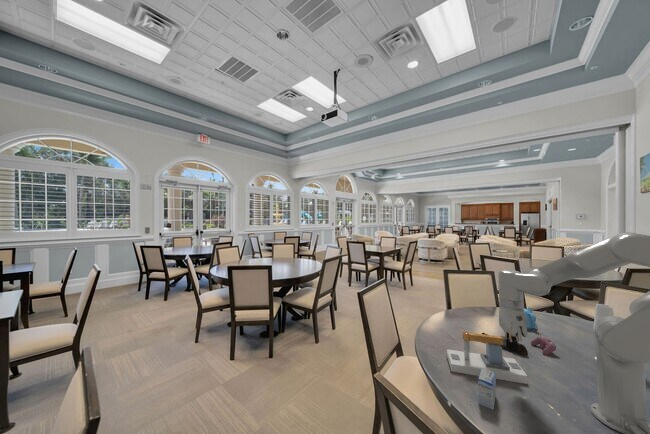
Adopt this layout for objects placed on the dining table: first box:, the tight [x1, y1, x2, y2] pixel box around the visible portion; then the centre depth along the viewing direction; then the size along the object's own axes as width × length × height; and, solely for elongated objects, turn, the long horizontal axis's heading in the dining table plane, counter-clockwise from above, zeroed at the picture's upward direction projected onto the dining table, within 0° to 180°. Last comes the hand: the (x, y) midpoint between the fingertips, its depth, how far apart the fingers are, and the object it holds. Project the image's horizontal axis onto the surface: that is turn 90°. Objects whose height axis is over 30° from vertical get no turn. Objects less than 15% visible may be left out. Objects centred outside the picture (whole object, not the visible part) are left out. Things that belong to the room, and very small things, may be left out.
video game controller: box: [530, 335, 557, 356], centre depth 115 cm, size 10×5×7 cm, turn 169°
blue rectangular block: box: [485, 343, 503, 365], centre depth 100 cm, size 4×4×8 cm
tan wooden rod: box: [462, 331, 506, 346], centre depth 101 cm, size 3×17×3 cm, turn 71°
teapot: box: [523, 307, 538, 330], centre depth 143 cm, size 15×17×11 cm
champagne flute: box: [593, 303, 615, 361], centre depth 106 cm, size 7×7×24 cm
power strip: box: [446, 339, 529, 385], centre depth 102 cm, size 12×26×11 cm, turn 71°
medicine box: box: [477, 368, 497, 411], centre depth 84 cm, size 8×4×9 cm, turn 141°
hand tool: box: [481, 332, 529, 357], centre depth 118 cm, size 19×4×5 cm, turn 32°
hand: (512, 350), depth 93 cm, fingers closed
